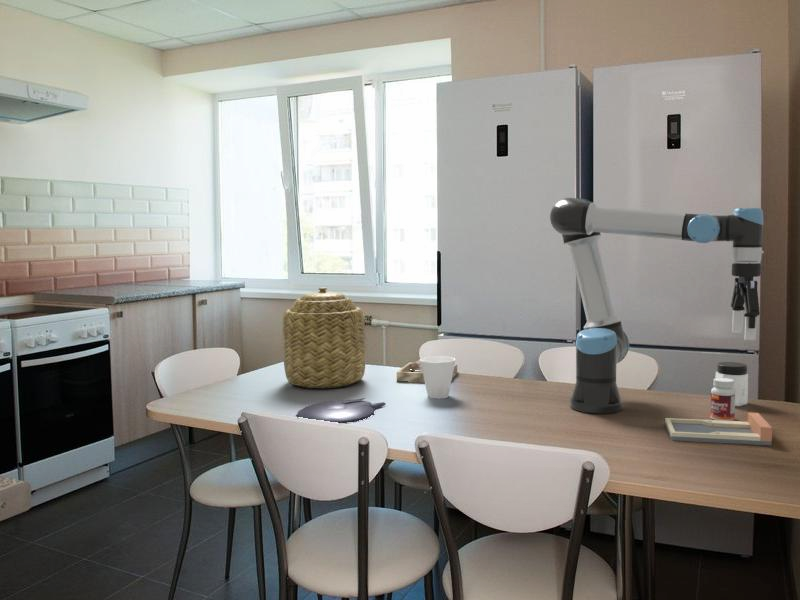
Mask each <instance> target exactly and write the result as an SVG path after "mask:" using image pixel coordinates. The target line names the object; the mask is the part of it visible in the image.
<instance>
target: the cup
mask: <svg viewBox="0 0 800 600" xmlns="http://www.w3.org/2000/svg"><path fill="white" fill-rule="evenodd" d="M419 360H420V363H421V367H422V372H423V376H424V381H425V383H424V384H425V389H426V394H427V398H429V397H430V399H434V398H437V400H439V399H441V398H442V399H446V398H449V396H450V389H451V386H452V380H453V378H452V375H453V370H454V365H455V364H456V358H455V357H452V356H445V355H435V356H434V355H433V356H432V355H431V356H426V357H421V358H420V359H419Z"/></svg>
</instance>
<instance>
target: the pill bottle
mask: <svg viewBox="0 0 800 600" xmlns="http://www.w3.org/2000/svg"><path fill="white" fill-rule="evenodd" d="M712 383H713V384H712V386H713V387H712V388H711V391H710V420H722V421H735V415H736V413H735V412H736V411H735V410H736V406H735V390H734V389H732V387H734V380H732V379H728V378H716V377H715V378H713V381H712Z"/></svg>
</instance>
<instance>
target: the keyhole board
mask: <svg viewBox="0 0 800 600" xmlns="http://www.w3.org/2000/svg"><path fill="white" fill-rule="evenodd" d="M664 425H665V428H666V430H667V433H668V435H669V438H670V439H671V441H684V442H701V443H718V444H734V445H736V444H737V445H738V444H739V445H754V446H755V445H756V446H757V445H759V446H772V441H773V427H772V426H771V424H769V423H768V422H767V421H766V420H765V419H764V417H763V416H762V415H761V414H760V413H759V412H747V421H743V420H742V421H741V420H738V421H737V420H733V421H722V420H713V419H698V418H697V419H696V418H695V419H694V418H675V417H674V418H672V417H665V418H664Z"/></svg>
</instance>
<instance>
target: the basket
mask: <svg viewBox="0 0 800 600" xmlns="http://www.w3.org/2000/svg"><path fill="white" fill-rule="evenodd" d="M318 290H319V291H315V292H308V293H304V294H303V295H301V297H300V298H296V299H295V300H294V301H293V303H292V305H291V307H290V308H289V309H287V310H286V311H285V312H283V317H282V318H283V319H282V353H283V355H282V356H283V357H282V358H283V366H284V367H283V368H284V372H285V377H286V379H287V381H288V382H289V383H290V384H292V385H295V386H297V385H298V387H300V386H302V387H301V388H304V387H308V388H307V389H312V388H328V389H335V388H334V387H338V388H343V387H342V386H344V387H347V385H348V386H350V384H351V385H353V384H355V383H357V382H359V381H361V380H362V379H363V377H364V375H365V371H366V361H367V360H366V359H367V356H366V355H367V351H366V349H367V346H366V345H367V344H366V339H367V338H366V327H365V323H366V322H365V317H364V312H363V310H362V308H360V307H358V306H356V305H355V302H354V301H353V300H352V298H350V297H347V296H345V294H343V293H341V292H335V291H327V290H328V288H327V287H325V286H323V287H321V286H320V287H318Z"/></svg>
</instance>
